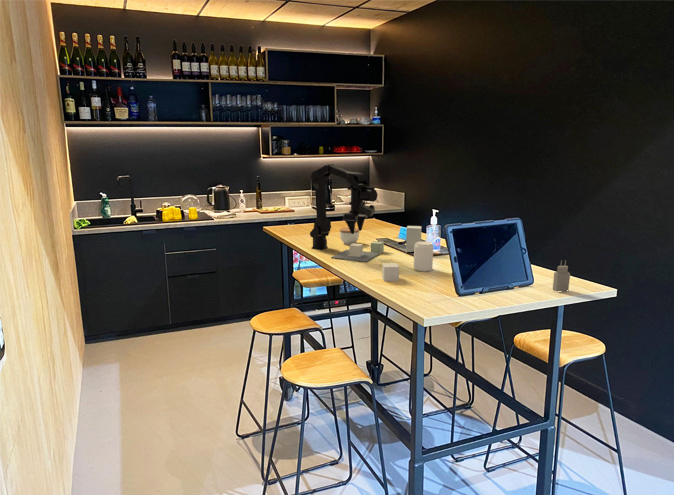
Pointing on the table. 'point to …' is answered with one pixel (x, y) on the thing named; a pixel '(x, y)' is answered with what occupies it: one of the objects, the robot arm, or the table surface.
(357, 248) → the cream block
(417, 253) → the beverage can
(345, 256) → the mat
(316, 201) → the robot arm
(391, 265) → the pinkish grey cube
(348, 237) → the lidded jar
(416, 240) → the supplement box
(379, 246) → the sage block
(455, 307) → the table surface
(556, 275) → the power adapter
